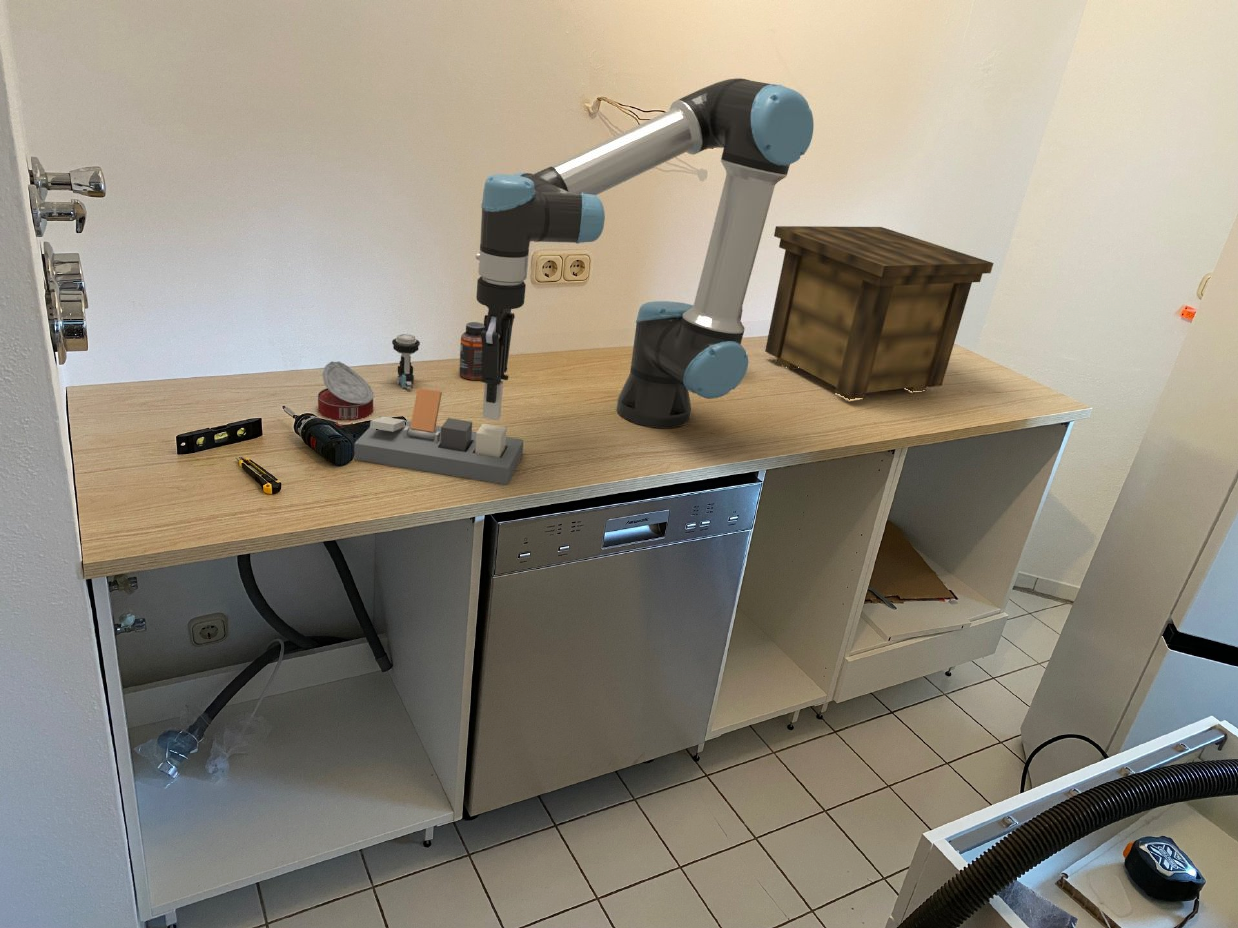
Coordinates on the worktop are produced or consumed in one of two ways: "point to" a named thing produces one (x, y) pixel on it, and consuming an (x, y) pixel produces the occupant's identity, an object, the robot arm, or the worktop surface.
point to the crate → (868, 307)
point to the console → (437, 455)
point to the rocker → (387, 424)
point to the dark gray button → (456, 434)
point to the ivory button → (490, 440)
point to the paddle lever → (425, 413)
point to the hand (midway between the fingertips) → (491, 417)
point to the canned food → (344, 394)
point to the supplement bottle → (471, 351)
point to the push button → (405, 358)
